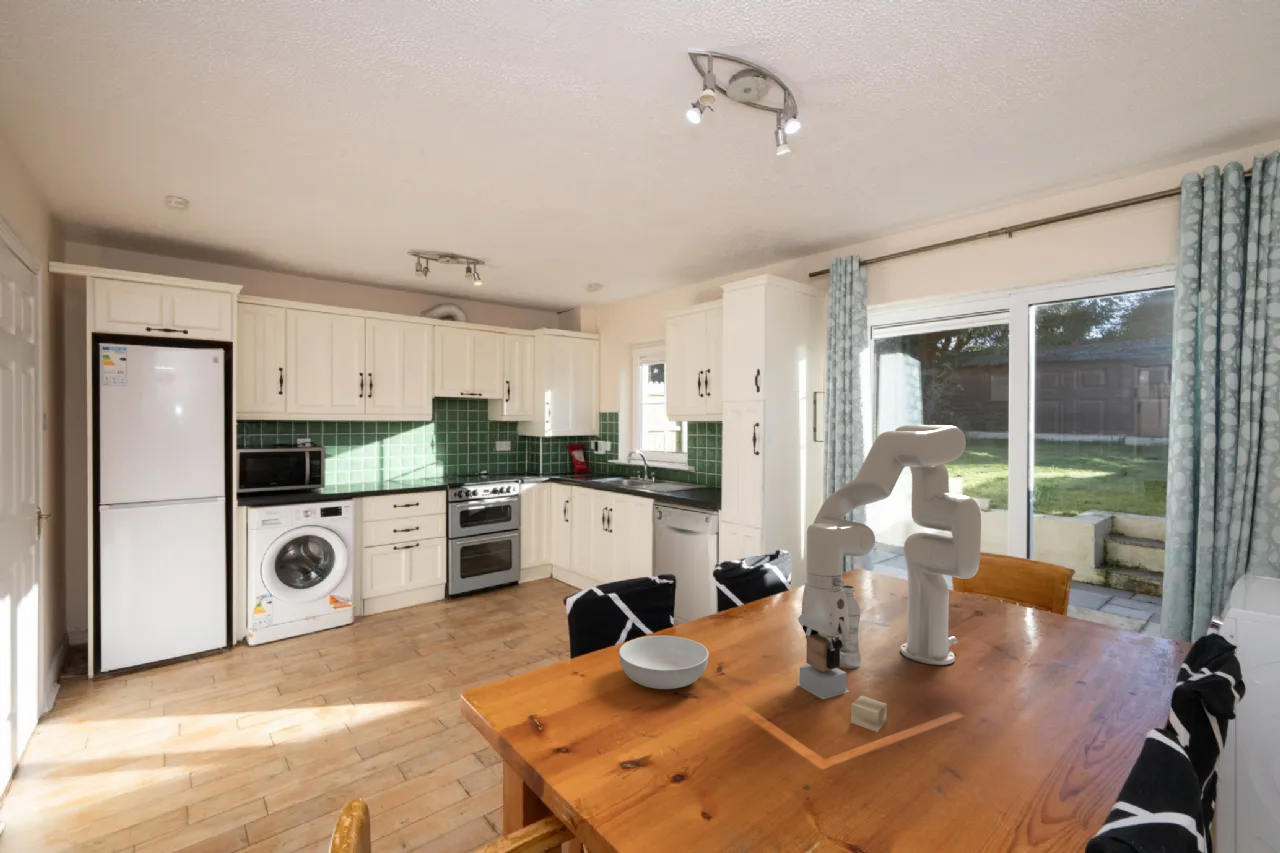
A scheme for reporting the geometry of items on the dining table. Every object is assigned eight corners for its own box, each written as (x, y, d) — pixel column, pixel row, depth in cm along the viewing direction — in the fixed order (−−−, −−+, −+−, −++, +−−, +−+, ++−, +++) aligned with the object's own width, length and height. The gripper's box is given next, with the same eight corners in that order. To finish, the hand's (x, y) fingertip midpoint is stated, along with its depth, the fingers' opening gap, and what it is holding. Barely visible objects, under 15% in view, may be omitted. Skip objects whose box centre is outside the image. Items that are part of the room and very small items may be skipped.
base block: (822, 678, 133) (822, 660, 133) (846, 690, 127) (846, 672, 127) (799, 684, 130) (799, 666, 129) (823, 697, 123) (823, 679, 123)
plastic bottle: (863, 675, 137) (864, 591, 137) (833, 672, 139) (834, 589, 139) (858, 664, 144) (859, 584, 144) (830, 661, 145) (830, 582, 145)
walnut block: (822, 658, 131) (823, 632, 131) (839, 667, 127) (840, 639, 127) (806, 662, 129) (806, 636, 129) (823, 671, 125) (823, 643, 125)
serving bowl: (719, 671, 139) (720, 642, 139) (690, 710, 120) (690, 677, 120) (641, 655, 148) (641, 628, 148) (602, 689, 129) (602, 659, 129)
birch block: (861, 720, 117) (861, 695, 117) (886, 729, 114) (886, 703, 114) (851, 729, 113) (851, 704, 113) (877, 739, 110) (877, 713, 110)
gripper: (867, 588, 122) (866, 673, 122) (808, 569, 137) (807, 646, 137) (841, 592, 119) (840, 681, 119) (784, 573, 134) (783, 651, 134)
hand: (823, 661), depth 128 cm, fingers closed on walnut block, 5 cm apart
